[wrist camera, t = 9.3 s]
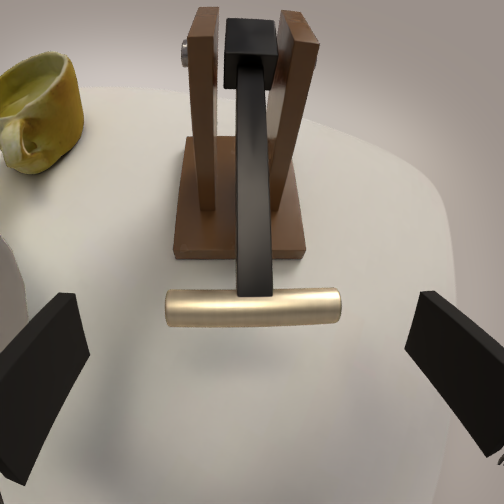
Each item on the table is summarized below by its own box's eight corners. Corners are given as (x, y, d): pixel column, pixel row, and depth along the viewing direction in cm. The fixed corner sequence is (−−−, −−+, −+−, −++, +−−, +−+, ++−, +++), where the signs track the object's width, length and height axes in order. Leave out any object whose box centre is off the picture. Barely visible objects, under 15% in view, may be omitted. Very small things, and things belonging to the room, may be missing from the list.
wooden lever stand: (302, 259, 20) (380, 86, 8) (175, 259, 19) (127, 74, 8) (286, 148, 24) (318, 3, 13) (187, 147, 23) (177, -4, 12)
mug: (10, 112, 23) (-3, 45, 14) (91, 109, 27) (96, 38, 19) (-18, 212, 20) (-58, 154, 11) (75, 210, 24) (63, 144, 16)
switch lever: (325, 322, 11) (350, 323, 9) (174, 325, 11) (160, 328, 8) (299, 56, 13) (309, 24, 11) (193, 52, 13) (190, 18, 11)
